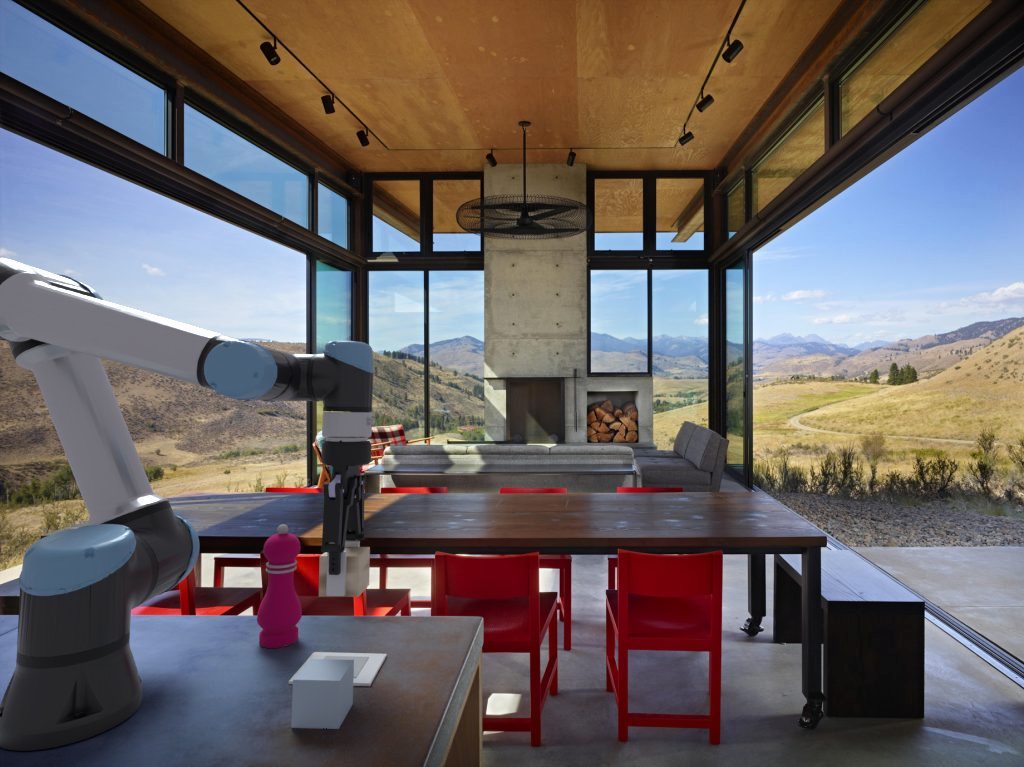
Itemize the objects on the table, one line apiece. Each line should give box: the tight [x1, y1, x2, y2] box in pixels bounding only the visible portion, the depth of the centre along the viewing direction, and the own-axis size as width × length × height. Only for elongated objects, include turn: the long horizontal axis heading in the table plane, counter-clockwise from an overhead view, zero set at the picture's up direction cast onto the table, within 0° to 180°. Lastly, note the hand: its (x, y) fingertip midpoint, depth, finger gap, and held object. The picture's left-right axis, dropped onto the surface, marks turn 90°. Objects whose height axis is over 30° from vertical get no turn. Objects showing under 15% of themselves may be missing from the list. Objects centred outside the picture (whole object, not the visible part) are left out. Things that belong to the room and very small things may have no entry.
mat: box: [288, 651, 388, 687], centre depth 87 cm, size 12×10×1 cm
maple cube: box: [318, 546, 371, 598], centre depth 87 cm, size 6×6×6 cm
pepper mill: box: [256, 523, 303, 649], centre depth 98 cm, size 7×7×20 cm
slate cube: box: [290, 659, 354, 730], centre depth 74 cm, size 6×6×6 cm
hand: (343, 587), depth 87 cm, fingers closed on maple cube, 6 cm apart
